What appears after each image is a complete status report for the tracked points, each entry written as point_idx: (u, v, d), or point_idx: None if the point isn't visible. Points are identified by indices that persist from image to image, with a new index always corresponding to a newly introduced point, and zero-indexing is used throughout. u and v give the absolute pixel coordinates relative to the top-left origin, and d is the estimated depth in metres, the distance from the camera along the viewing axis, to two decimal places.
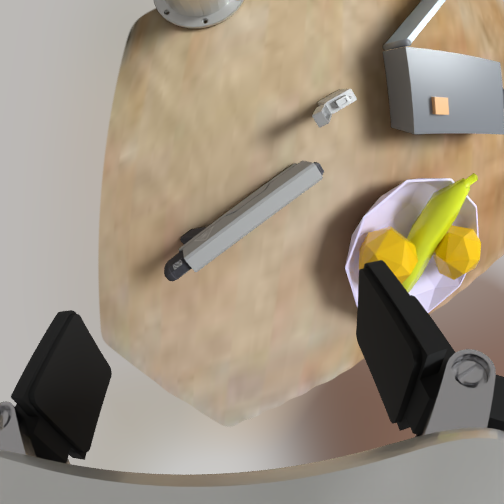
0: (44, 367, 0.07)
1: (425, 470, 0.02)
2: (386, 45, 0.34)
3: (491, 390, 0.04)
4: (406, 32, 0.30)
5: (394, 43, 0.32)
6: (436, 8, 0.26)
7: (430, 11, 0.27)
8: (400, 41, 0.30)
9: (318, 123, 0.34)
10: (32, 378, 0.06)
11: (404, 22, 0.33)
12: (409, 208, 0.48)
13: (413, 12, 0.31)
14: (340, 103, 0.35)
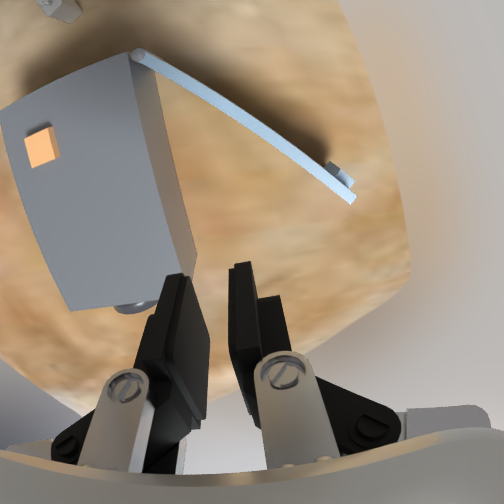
0: (174, 326, 0.08)
1: (425, 470, 0.02)
2: None
3: (314, 380, 0.06)
4: None
5: None
6: (245, 119, 0.19)
7: (230, 104, 0.19)
8: None
9: None
10: (166, 337, 0.07)
11: (217, 92, 0.23)
12: None
13: None
14: None
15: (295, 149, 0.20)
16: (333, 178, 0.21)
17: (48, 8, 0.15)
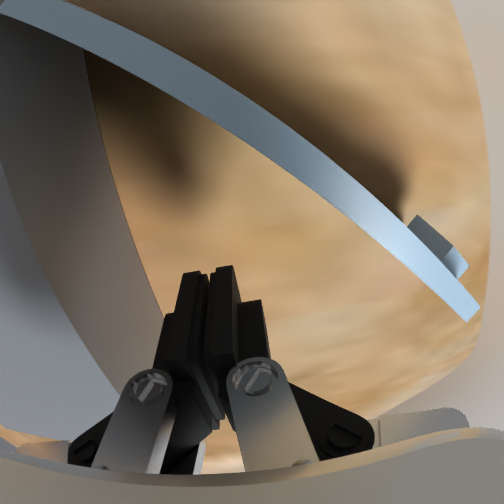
0: (195, 324, 0.08)
1: (425, 470, 0.02)
2: None
3: (288, 385, 0.06)
4: None
5: None
6: (271, 140, 0.06)
7: (224, 90, 0.06)
8: None
9: None
10: (188, 336, 0.07)
11: None
12: None
13: None
14: None
15: (397, 225, 0.07)
16: (455, 282, 0.09)
17: None
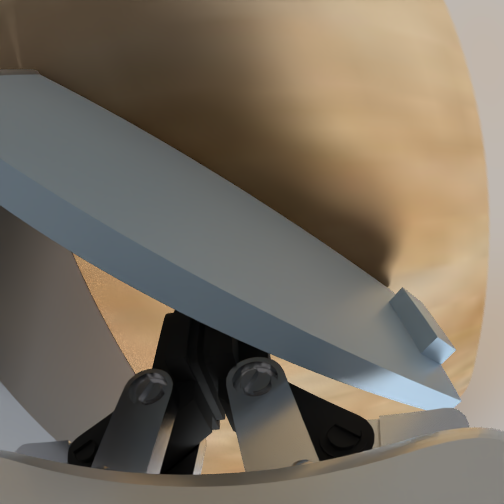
0: (195, 324, 0.08)
1: (425, 470, 0.02)
2: None
3: (288, 385, 0.06)
4: None
5: None
6: (184, 295, 0.05)
7: (117, 239, 0.05)
8: None
9: None
10: (187, 336, 0.07)
11: (143, 136, 0.09)
12: None
13: (212, 179, 0.10)
14: None
15: (357, 361, 0.06)
16: (430, 391, 0.07)
17: None
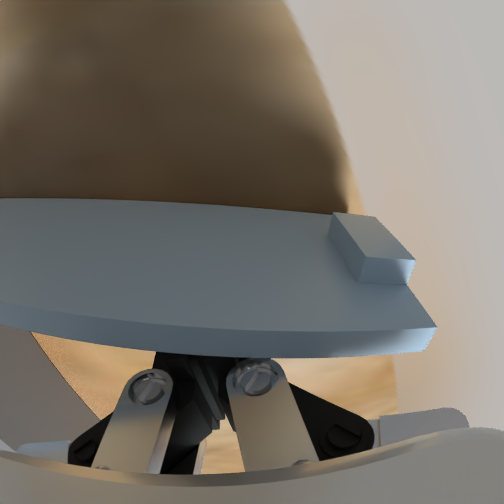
0: None
1: (425, 470, 0.02)
2: None
3: (287, 385, 0.06)
4: None
5: None
6: (26, 320, 0.06)
7: None
8: None
9: None
10: None
11: (44, 204, 0.10)
12: None
13: (100, 208, 0.11)
14: None
15: (185, 330, 0.06)
16: (352, 334, 0.06)
17: None
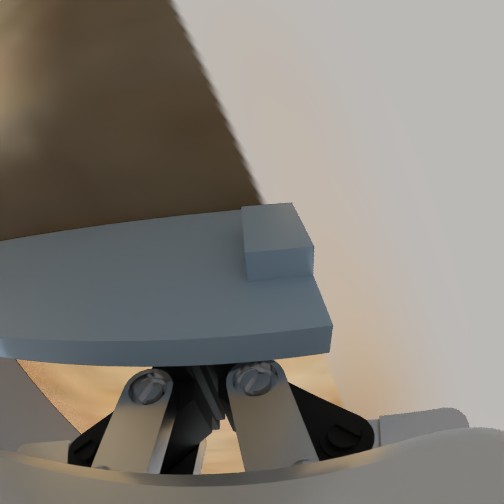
0: None
1: (425, 470, 0.02)
2: None
3: (287, 385, 0.06)
4: None
5: None
6: None
7: None
8: None
9: None
10: None
11: (6, 245, 0.11)
12: None
13: (46, 241, 0.11)
14: None
15: (67, 344, 0.06)
16: (214, 340, 0.06)
17: None
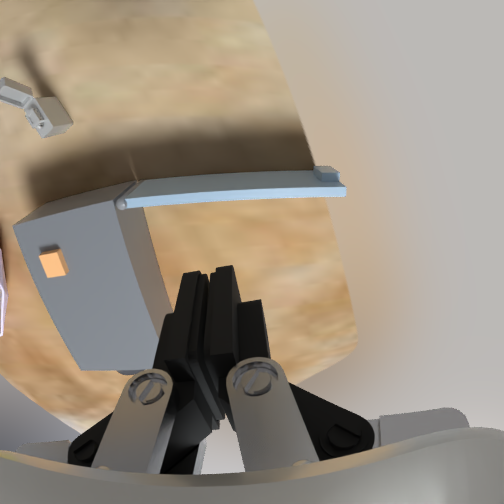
0: (195, 324, 0.08)
1: (425, 470, 0.02)
2: (136, 183, 0.29)
3: (288, 385, 0.06)
4: (151, 190, 0.26)
5: (128, 190, 0.26)
6: (226, 196, 0.24)
7: (207, 193, 0.24)
8: (124, 194, 0.25)
9: None
10: (188, 336, 0.07)
11: (197, 176, 0.29)
12: None
13: (226, 175, 0.29)
14: (30, 114, 0.21)
15: (275, 189, 0.24)
16: (318, 188, 0.24)
17: (41, 130, 0.23)
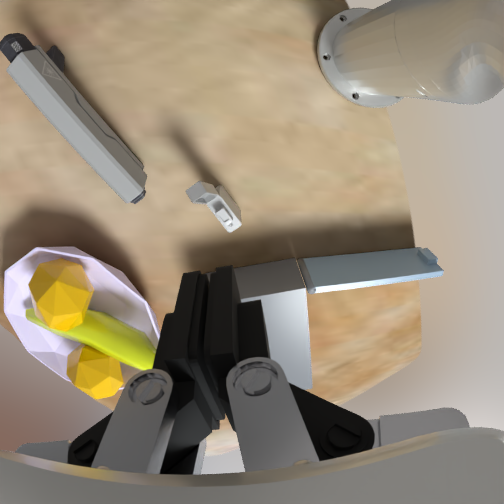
0: (195, 324, 0.08)
1: (425, 470, 0.02)
2: (300, 263, 0.40)
3: (288, 385, 0.06)
4: (326, 276, 0.37)
5: (304, 273, 0.38)
6: (380, 282, 0.36)
7: (370, 281, 0.35)
8: (308, 281, 0.36)
9: (190, 189, 0.29)
10: (187, 336, 0.07)
11: (344, 257, 0.41)
12: (121, 305, 0.43)
13: (363, 256, 0.40)
14: (221, 213, 0.32)
15: (407, 276, 0.35)
16: (429, 273, 0.35)
17: (228, 225, 0.34)
